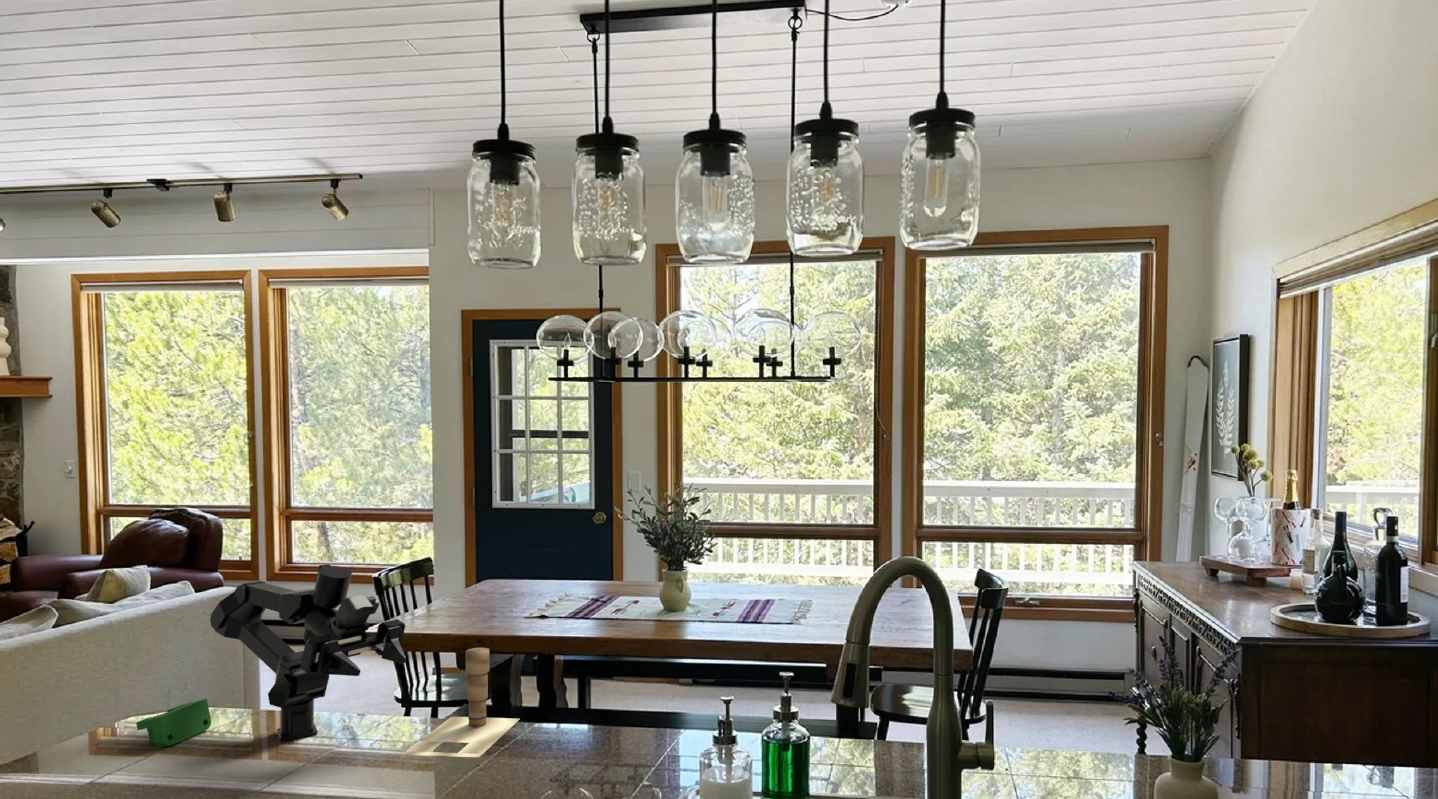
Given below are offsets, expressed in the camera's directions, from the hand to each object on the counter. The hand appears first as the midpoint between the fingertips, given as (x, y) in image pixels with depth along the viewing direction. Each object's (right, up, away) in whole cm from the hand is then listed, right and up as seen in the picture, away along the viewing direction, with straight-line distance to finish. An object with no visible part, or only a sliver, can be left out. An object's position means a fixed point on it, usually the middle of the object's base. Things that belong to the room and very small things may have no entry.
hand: (382, 667), depth 149 cm
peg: (+13, -15, +13) cm, 24 cm away
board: (+12, -16, +7) cm, 22 cm away
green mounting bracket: (-44, -18, +12) cm, 49 cm away
